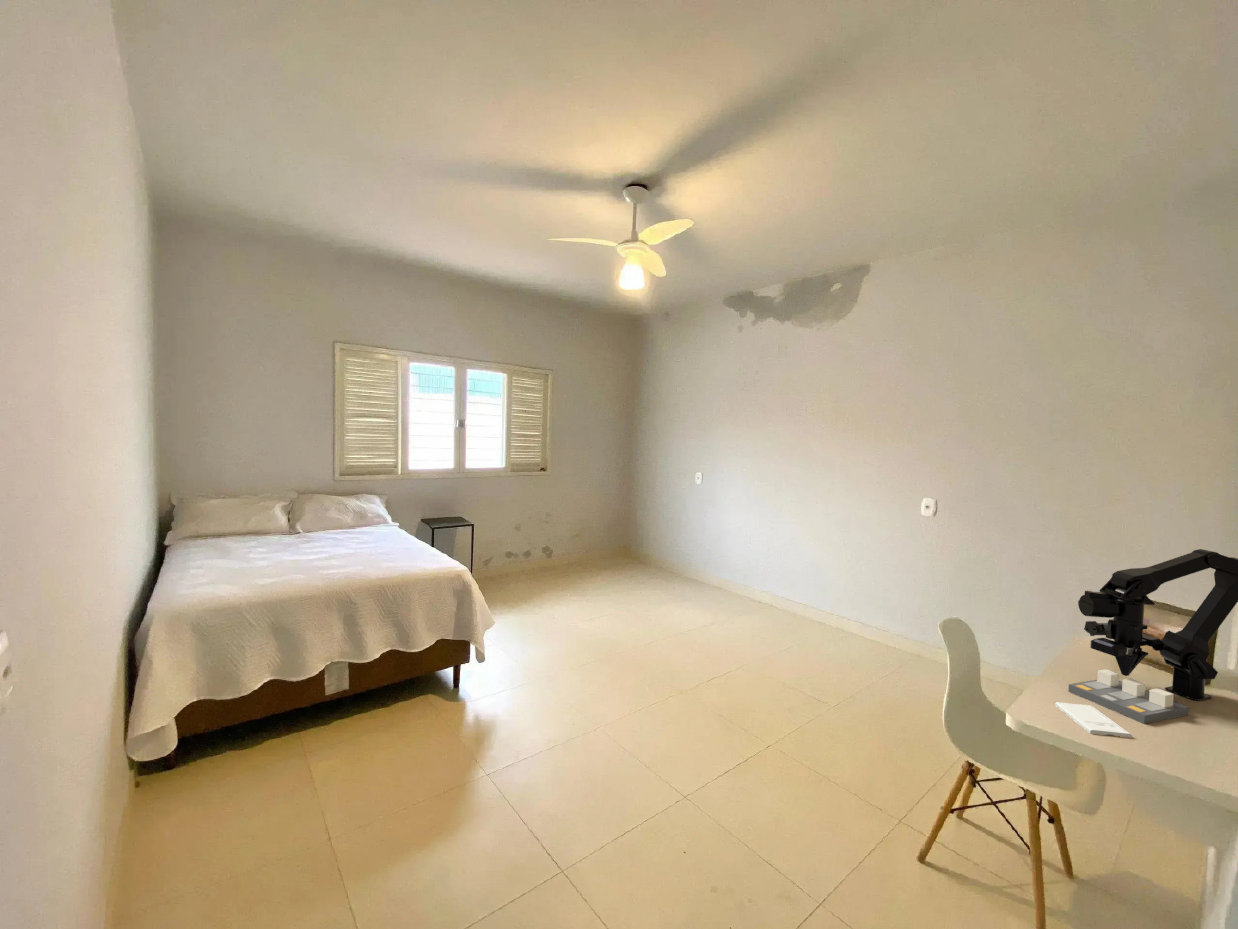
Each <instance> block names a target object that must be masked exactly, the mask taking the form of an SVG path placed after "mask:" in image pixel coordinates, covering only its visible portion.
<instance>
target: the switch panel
mask: <svg viewBox="0 0 1238 929" xmlns="http://www.w3.org/2000/svg"><path fill="white" fill-rule="evenodd" d="M1122 682H1123V680H1122V681H1121V680H1119V682H1118V685H1116V686H1108V685H1105V684H1103V683H1100V682H1098V681H1097V679H1093V680H1092V679H1091V680H1086V681H1081V682H1074V683H1070V684H1069V683H1068V692H1069V693H1071V694H1073V693H1074V695H1075V696H1078V695H1079V697H1080V696H1081V697H1080V698H1083V699H1085V700H1087V699H1088V700H1087V701H1090V702H1092V703H1094V702H1095V703H1094V704H1097V705H1099V706H1101V705H1102V707H1104V708H1106V707H1107V709H1108V708H1109V709H1108V710H1111V711H1113V712H1115V711H1116V712H1115V713H1117V714H1119V715H1123V716H1125V717H1128V718H1130V719H1132V720H1134V721H1137V722H1139V723H1141V724H1149V723H1155V722H1158V721H1165V720H1170V719H1174V718H1175V719H1176V718H1180V717H1184V716H1189V713H1190V706H1188V705H1185V704H1183V703H1180V702H1177V701H1175V700H1173V706H1171V707H1165V708H1164V707H1162V706H1159V705H1157V704H1154V703H1151V702H1149V693H1150V691H1147V690H1146V689H1145V695H1143V696H1137V697H1136V696H1133V695H1131V694H1128V693H1126V692H1123V691H1122Z"/></svg>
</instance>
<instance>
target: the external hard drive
mask: <svg viewBox="0 0 1238 929" xmlns="http://www.w3.org/2000/svg"><path fill="white" fill-rule="evenodd" d="M1054 706H1055V707H1056V708H1057V707H1058V708H1059V709H1060V711H1061V712H1062V711H1063V712H1065V713H1066V714H1065V713H1064V714H1065V715H1066V716H1067V717H1068V716H1069V719H1071V718H1072V719H1073V720H1072V719H1071V720H1072V721H1074V722H1075V723H1076V724H1077V725H1079V727H1080V728H1082V727H1083V728H1082V729H1084V730H1085V731H1086V730H1087V733H1089V734H1092V735H1099V736H1100V735H1101V736H1113V737H1118V736H1120V737H1119V738H1127V737H1129V739H1132V737H1133V734H1132V733H1130V732H1129V731H1127V730H1126V729H1125V728H1123V727H1122V726H1121V725H1119V724H1118V723H1116V722H1115V721H1114V720H1113V719H1111V718H1110V717H1108V716H1107V715H1105V714H1104V713H1102V711H1100V710H1098V709H1097V708H1095V707H1094V706H1093V705H1089V704H1081V703H1080V704H1078V703H1070V702H1069V703H1068V702H1060V701H1057V702H1055V704H1054ZM1058 708H1057V709H1058ZM1059 709H1058V710H1059ZM1063 712H1062V713H1063Z"/></svg>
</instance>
